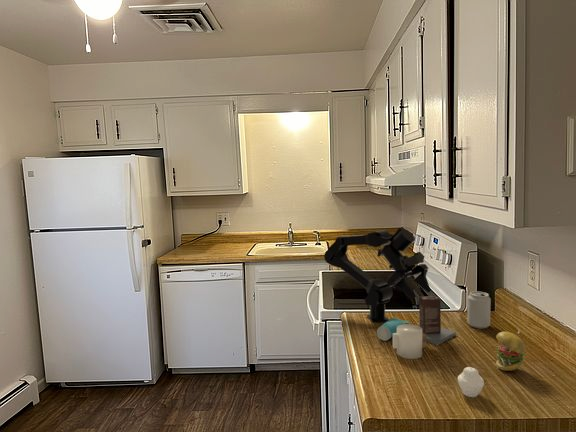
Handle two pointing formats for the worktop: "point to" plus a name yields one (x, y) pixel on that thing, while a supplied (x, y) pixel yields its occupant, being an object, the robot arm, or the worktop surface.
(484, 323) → the can
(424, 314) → the box
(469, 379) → the muffin
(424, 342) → the walnut block
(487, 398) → the worktop surface
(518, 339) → the hamburger
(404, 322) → the tube
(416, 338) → the white tapered cup
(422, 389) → the worktop surface
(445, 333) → the coaster
